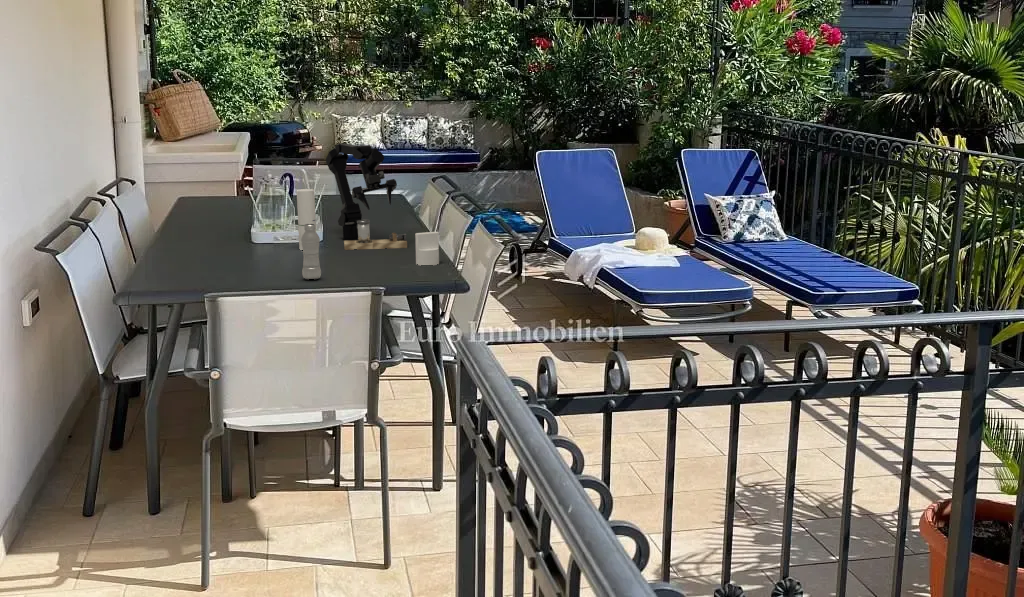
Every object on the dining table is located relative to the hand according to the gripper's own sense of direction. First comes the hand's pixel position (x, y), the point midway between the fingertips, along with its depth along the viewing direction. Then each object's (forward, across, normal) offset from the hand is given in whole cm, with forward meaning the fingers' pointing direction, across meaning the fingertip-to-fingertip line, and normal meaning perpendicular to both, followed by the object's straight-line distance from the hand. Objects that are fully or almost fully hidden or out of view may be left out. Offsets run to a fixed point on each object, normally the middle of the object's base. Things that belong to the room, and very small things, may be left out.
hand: (379, 207), depth 423 cm
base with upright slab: (+36, +7, -26) cm, 45 cm away
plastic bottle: (+35, -39, -43) cm, 68 cm away
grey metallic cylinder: (+13, -9, +10) cm, 19 cm away
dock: (+14, -5, +9) cm, 17 cm away
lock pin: (+14, +5, +8) cm, 16 cm away
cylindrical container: (+8, -32, +10) cm, 35 cm away
